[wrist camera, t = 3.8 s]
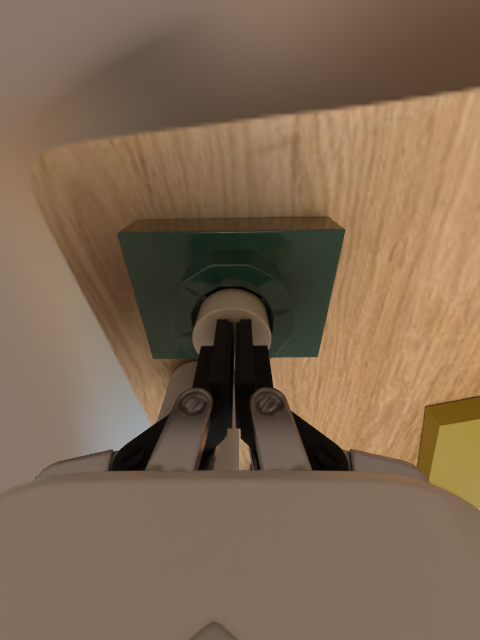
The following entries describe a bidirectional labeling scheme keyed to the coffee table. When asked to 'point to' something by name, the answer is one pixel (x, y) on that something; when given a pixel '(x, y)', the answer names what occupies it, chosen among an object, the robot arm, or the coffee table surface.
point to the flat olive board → (453, 448)
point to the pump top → (231, 317)
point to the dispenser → (233, 276)
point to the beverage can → (230, 445)
